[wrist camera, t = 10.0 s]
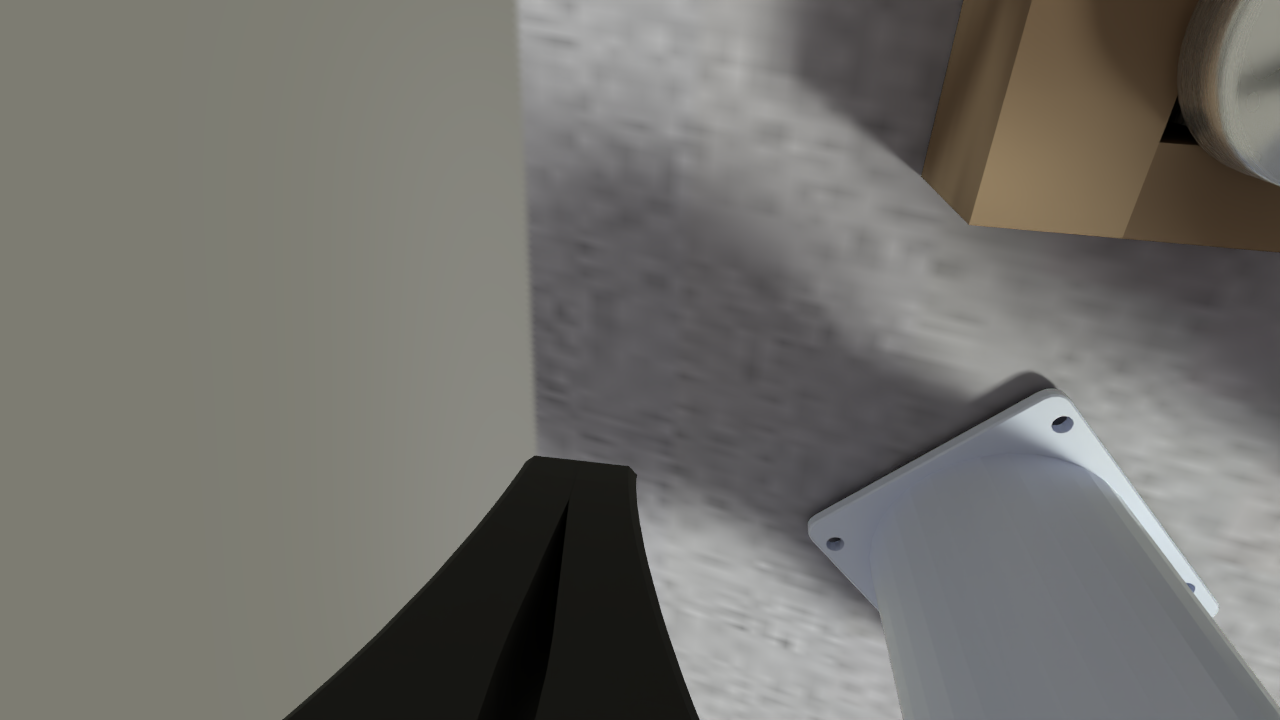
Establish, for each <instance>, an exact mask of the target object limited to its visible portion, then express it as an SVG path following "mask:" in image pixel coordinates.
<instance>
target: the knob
mask: <svg viewBox="0 0 1280 720" xmlns="http://www.w3.org/2000/svg"><path fill="white" fill-rule="evenodd" d="M1177 89H1178V96H1177V98H1176V101H1175V103H1174V106H1173V109H1172V111H1171V114H1170V116H1169V119H1168V121H1171V122H1174V123H1178V124H1181V125H1184V126H1187V127H1188V129H1189V131H1190V133H1191V134H1192V136H1193V137H1194V138H1195V140H1196V141H1197V143H1198V144H1199V145H1200V146H1201V147H1202V148H1203V149H1204V150H1205V151H1206V152H1207V153H1208V154H1209V155H1210V156H1211V157H1213V158H1214V159H1216V160H1217V161H1219V162H1220V163H1221V164H1223V165H1225V166H1227V167H1229V168H1231V169H1234V170H1236V171H1238V172H1241V173H1243V174H1246V175H1249V176H1252V177H1255V178H1258V179H1260V180H1263V181H1266V182H1269V183H1272V184H1275V185H1277V186H1280V0H1199V2H1198V3H1197V5H1196V8H1195V10H1194V12H1193V14H1192V17H1191V19H1190V21H1189V23H1188V26H1187V29H1186V32H1185V36H1184V39H1183V42H1182V45H1181V50H1180V56H1179V61H1178V72H1177Z"/></svg>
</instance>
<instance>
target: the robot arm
mask: <svg viewBox="0 0 1280 720" xmlns="http://www.w3.org/2000/svg"><path fill="white" fill-rule="evenodd" d="M1062 416H1067V419H1066V421H1064V422H1063V423H1062V424H1059V425H1052V423H1053V421H1054V420H1055V419H1057V418H1058V417H1062ZM636 478H637V474H636V473H635V472H634V471H633V470H632V469H631V468H630V467H629V466H621V465H612V464H604V463H595V462H586V461H577V460H568V459H559V458H550V457H541V456H534V457H532V458H531V459H529V460H528V461H526V463H525V464H524V465H523V467H522V468H521V470H520V471H519V473H518V474H517V475H516V477H515V478H514V480H513V481H512V482H511V484H510V485H509V486H508V488H507V489H506V490H505V492H504V493H503V494H502V496H501V497H500V498H499V500H498V501H497V502H496V503H495V505H494V506H493V507H492V508H491V510H490V511H489V512H488V513H487V515H486V516H485V517H484V518H483V520H482V521H481V522H480V523H479V524H478V526H477V527H476V528H475V529H474V531H473V532H472V533H471V534H470V535H469V536H468V537H467V539H466V540H465V541H464V542H463V543H462V544H461V545H460V547H459V548H458V549H457V550H456V551H455V552H454V553H453V555H452V556H451V557H450V558H449V559H448V560H447V561H446V563H445V564H444V565H443V566H442V567H441V568H440V569H439V571H438V572H437V573H436V574H435V575H434V576H433V577H432V578H431V579H430V581H428V582H427V584H426V585H425V586H424V587H423V588H422V589H421V590H420V591H419V592H418V593H417V594H416V595H415V596H414V597H413V598H412V599H411V600H410V601H409V602H408V603H407V604H406V605H405V606H404V607H403V608H402V609H401V610H400V611H399V612H398V613H397V614H396V615H395V617H393V618H392V619H391V621H389V623H388V624H387V625H386V626H385V627H384V628H383V629H382V630H381V631H380V632H379V633H378V634H377V635H376V636H375V637H374V638H373V639H372V640H371V641H369V642H368V643H367V644H366V645H365V646H364V647H363V648H362V649H361V650H360V651H359V652H358V653H357V654H356V655H355V656H354V657H353V658H352V659H350V660H349V661H348V662H347V663H346V664H345V665H344V666H343V667H342V668H341V669H340V670H339V671H337V672H336V673H335V674H334V675H333V676H332V677H331V678H330V679H329V680H328V681H326V682H325V683H324V684H323V685H322V686H321V687H320V688H318V689H317V690H316V691H315V692H314V693H313V694H312V695H310V696H309V697H308V698H307V699H306V700H305V701H304V702H303V703H302V704H300V705H299V706H298V707H297V708H296V709H295V710H293V711H292V712H291V713H290V714H289V715H288V716H286V717H285V718H284V719H283V720H699V717H698V715H697V712H696V710H695V707H694V705H693V702H692V700H691V697H690V694H689V692H688V689H687V686H686V684H685V681H684V678H683V676H682V673H681V670H680V667H679V664H678V661H677V658H676V655H675V652H674V650H673V647H672V644H671V641H670V638H669V635H668V632H667V629H666V625H665V622H664V619H663V616H662V613H661V609H660V606H659V602H658V598H657V595H656V591H655V587H654V584H653V580H652V576H651V573H650V569H649V565H648V561H647V557H646V552H645V548H644V543H643V538H642V532H641V527H640V521H639V514H638V507H637V495H636ZM808 535H809V537H810V539H811V540H812V541H813V542H814V543H815V544H816V545H817V547H818V548H819V549H820V550H821V551H822V552H823V553H824V554H825V555H826V556H827V557H828V558H829V559H830V560H831V561H832V562H833V564H834V565H835V566H836V567H837V568H838V569H839V570H840V571H841V572H842V573H843V574H844V575H845V576H846V577H847V578H848V579H849V581H850V582H851V583H852V584H853V585H854V586H855V587H856V588H857V589H858V590H859V591H860V592H861V593H862V594H863V595H864V596H865V598H866V599H867V600H868V601H869V602H870V603H871V604H872V605H873V606H874V607H875V608H876V609H877V610H878V611H879V613H880V617H881V622H882V626H883V631H884V635H885V640H886V644H887V649H888V653H889V658H890V663H891V667H892V672H893V676H894V681H895V685H896V690H897V694H898V699H899V703H900V708H901V713H902V717H903V720H1280V707H1279V706H1278V704H1277V703H1276V702H1275V701H1274V699H1273V698H1272V697H1271V695H1270V694H1269V693H1268V691H1267V690H1266V689H1265V687H1264V686H1263V685H1262V683H1261V682H1260V681H1259V679H1258V678H1257V677H1256V675H1255V674H1254V673H1253V671H1252V670H1251V669H1250V667H1249V666H1248V665H1247V663H1246V662H1245V661H1244V659H1243V658H1242V657H1241V655H1240V654H1239V653H1238V651H1237V650H1236V649H1235V647H1234V646H1233V645H1232V643H1231V642H1230V641H1229V640H1228V638H1227V637H1226V636H1225V634H1224V633H1223V632H1222V630H1221V629H1220V628H1219V626H1218V625H1217V624H1216V622H1215V621H1214V620H1213V617H1214V616H1215V615H1216V614H1217V612H1218V610H1219V605H1218V602H1217V601H1216V599H1215V598H1214V597H1213V595H1212V594H1211V593H1210V591H1209V590H1208V588H1207V587H1206V586H1205V584H1204V583H1203V582H1202V580H1201V579H1200V577H1199V576H1198V575H1197V573H1196V572H1195V571H1194V569H1193V568H1192V566H1191V565H1190V564H1189V562H1188V561H1187V560H1186V558H1185V557H1184V555H1183V554H1182V553H1181V551H1180V550H1179V549H1178V547H1177V546H1176V544H1175V543H1174V542H1173V540H1172V539H1171V538H1170V536H1169V535H1168V533H1167V532H1166V531H1165V529H1164V528H1163V527H1162V525H1161V524H1160V522H1159V521H1158V520H1157V518H1156V517H1155V516H1154V514H1153V513H1152V511H1151V510H1150V509H1149V507H1148V506H1147V504H1146V503H1145V502H1144V500H1143V499H1142V498H1141V496H1140V495H1139V493H1138V492H1137V491H1136V489H1135V488H1134V487H1133V485H1132V484H1131V482H1130V481H1129V480H1128V478H1127V477H1126V476H1125V474H1124V473H1123V471H1122V470H1121V469H1120V467H1119V466H1118V465H1117V463H1116V462H1115V460H1114V459H1113V458H1112V456H1111V455H1110V454H1109V452H1108V451H1107V449H1106V448H1105V447H1104V445H1103V444H1102V443H1101V441H1100V440H1099V438H1098V437H1097V436H1096V434H1095V433H1094V432H1093V430H1092V429H1091V427H1090V426H1089V425H1088V423H1087V422H1086V421H1085V419H1084V418H1083V416H1082V415H1081V414H1080V412H1079V411H1078V410H1077V408H1076V407H1075V405H1074V404H1073V403H1072V401H1071V400H1070V399H1069V398H1068V396H1067V395H1066V394H1065V393H1064V392H1062V391H1061V390H1058V389H1054V388H1053V389H1044V390H1042V391H1039V392H1037V393H1035V394H1033V395H1031V396H1030V397H1028V398H1026V399H1024V400H1022V401H1020V402H1019V403H1017V404H1015V405H1013V406H1011V407H1010V408H1008V409H1006V410H1004V411H1002V412H1000V413H999V414H997V415H995V416H993V417H991V418H990V419H988V420H986V421H984V422H982V423H981V424H979V425H977V426H975V427H973V428H971V429H970V430H968V431H966V432H964V433H962V434H961V435H959V436H957V437H955V438H953V439H952V440H950V441H948V442H946V443H944V444H942V445H941V446H939V447H937V448H935V449H933V450H932V451H930V452H928V453H926V454H924V455H923V456H921V457H919V458H917V459H915V460H913V461H912V462H910V463H908V464H906V465H904V466H903V467H901V468H899V469H897V470H895V471H894V472H892V473H890V474H888V475H886V476H884V477H883V478H881V479H879V480H877V481H875V482H874V483H872V484H870V485H868V486H866V487H865V488H863V489H861V490H859V491H857V492H855V493H854V494H852V495H850V496H848V497H846V498H845V499H843V500H841V501H839V502H837V503H836V504H834V505H832V506H830V507H828V508H826V509H825V510H823V511H821V512H819V513H817V514H816V515H814V516H813V517H812V518H810V520H809V522H808ZM833 537H837V538H840V540H839V541H836V542H831V541H829V539H830V538H833Z"/></svg>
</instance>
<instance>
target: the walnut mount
mask: <svg viewBox="0 0 1280 720" xmlns="http://www.w3.org/2000/svg"><path fill="white" fill-rule="evenodd" d="M1198 2H1199V0H963V4H962V8H961V12H960V17H959V21H958V25H957V29H956V33H955V37H954V42H953V46H952V50H951V54H950V58H949V62H948V67H947V71H946V75H945V79H944V83H943V88H942V92H941V96H940V100H939V104H938V108H937V113H936V117H935V121H934V125H933V129H932V133H931V138H930V142H929V146H928V150H927V154H926V158H925V163H924V167H923V171H922V175H921V177H922V178H923V179H924V180H925V181H926V182H927V183H928V184H929V185H930V186H931V187H932V188H933V189H934V190H935V191H936V192H937V193H938V194H939V195H940V196H941V197H942V198H943V199H944V200H945V201H946V202H947V203H948V204H949V205H950V206H951V207H952V208H953V209H954V210H955V211H956V212H957V213H958V214H959V215H960V216H961V217H962V218H963V219H964V220H965V221H966V222H967V223H968V224H969V225H975V226H987V227H998V228H1009V229H1020V230H1032V231H1043V232H1054V233H1066V234H1077V235H1088V236H1099V237H1111V238H1122V239H1133V240H1145V241H1156V242H1167V243H1178V244H1190V245H1201V246H1212V247H1224V248H1235V249H1246V250H1257V251H1269V252H1280V186H1277V185H1275V184H1272V183H1269V182H1266V181H1263V180H1260V179H1258V178H1255V177H1252V176H1249V175H1246V174H1243V173H1241V172H1238V171H1236V170H1234V169H1231V168H1229V167H1227V166H1225V165H1223V164H1221V163H1220V162H1219V161H1217V160H1216V159H1214V158H1213V157H1211V156H1210V155H1209V154H1208V153H1207V152H1206V151H1205V150H1204V149H1203V148H1202V147H1201V146H1200V145H1199V144H1198V143H1197V141H1196V140H1195V138H1194V137H1193V136H1192V134H1191V133H1190V131H1189V129H1188V127H1187V126H1184V125H1181V124H1178V123H1174V122H1171V121H1168V119H1169V116H1170V114H1171V111H1172V109H1173V106H1174V103H1175V101H1176V98H1177V96H1178V89H1177V72H1178V61H1179V56H1180V50H1181V45H1182V42H1183V39H1184V36H1185V32H1186V29H1187V26H1188V23H1189V21H1190V19H1191V17H1192V14H1193V12H1194V10H1195V8H1196V5H1197V3H1198Z"/></svg>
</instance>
